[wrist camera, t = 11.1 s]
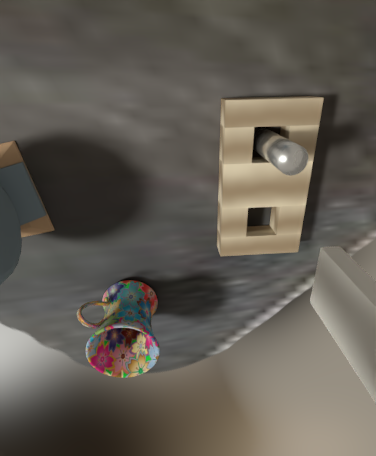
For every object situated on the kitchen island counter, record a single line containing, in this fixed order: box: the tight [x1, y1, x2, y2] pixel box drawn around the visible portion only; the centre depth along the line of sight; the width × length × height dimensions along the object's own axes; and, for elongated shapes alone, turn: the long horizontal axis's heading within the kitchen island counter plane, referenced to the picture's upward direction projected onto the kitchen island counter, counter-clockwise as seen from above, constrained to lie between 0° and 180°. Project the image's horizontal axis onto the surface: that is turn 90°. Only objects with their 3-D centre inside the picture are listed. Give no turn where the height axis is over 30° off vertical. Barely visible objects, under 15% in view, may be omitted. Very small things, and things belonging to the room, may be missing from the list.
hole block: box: [217, 96, 324, 256], centre depth 39 cm, size 20×11×3 cm, turn 1°
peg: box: [253, 129, 308, 176], centre depth 34 cm, size 3×3×10 cm
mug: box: [77, 280, 160, 378], centre depth 43 cm, size 12×9×11 cm
